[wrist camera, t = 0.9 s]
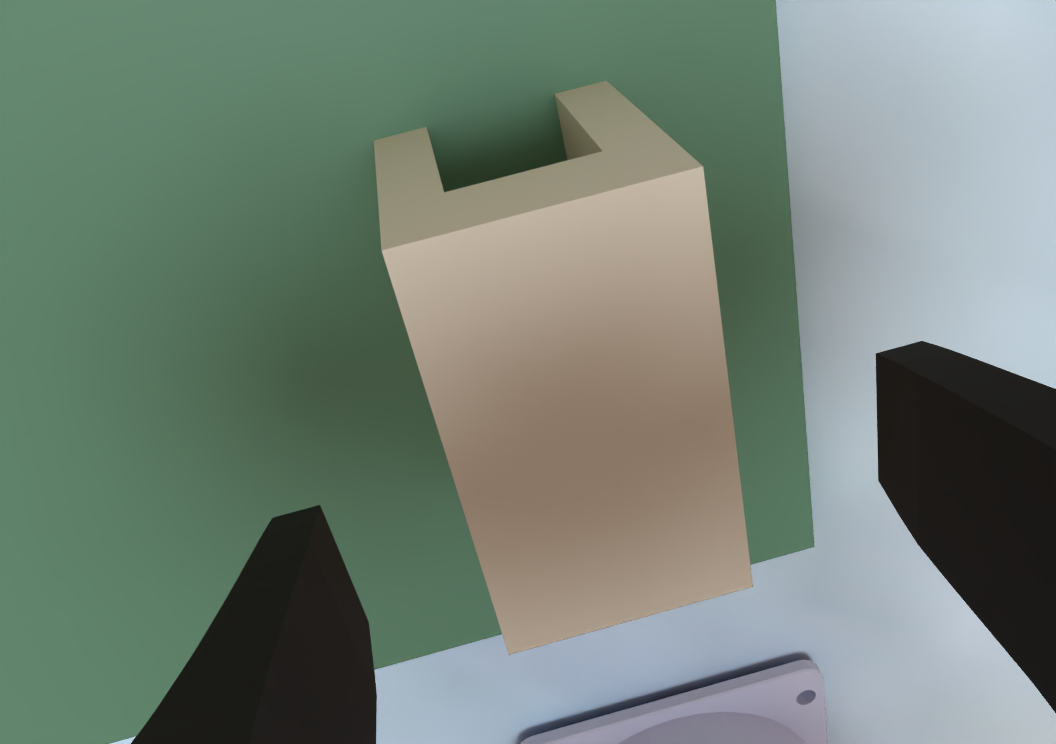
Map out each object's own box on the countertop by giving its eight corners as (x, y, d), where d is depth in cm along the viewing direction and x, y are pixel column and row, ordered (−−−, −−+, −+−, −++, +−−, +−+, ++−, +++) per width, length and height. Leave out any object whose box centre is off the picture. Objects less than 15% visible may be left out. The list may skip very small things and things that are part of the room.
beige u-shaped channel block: (662, 421, 19) (753, 586, 15) (473, 472, 19) (508, 654, 15) (606, 80, 16) (702, 166, 11) (373, 140, 15) (382, 250, 11)
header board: (803, 530, 22) (863, 620, 19) (-211, 812, 21) (-289, 946, 19) (712, -648, 12) (810, -788, 9) (-1226, -206, 11) (-1706, -224, 9)
